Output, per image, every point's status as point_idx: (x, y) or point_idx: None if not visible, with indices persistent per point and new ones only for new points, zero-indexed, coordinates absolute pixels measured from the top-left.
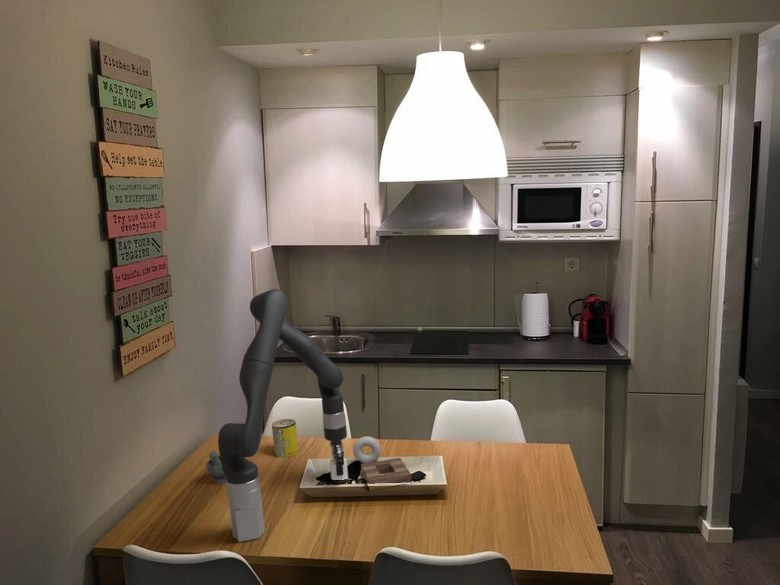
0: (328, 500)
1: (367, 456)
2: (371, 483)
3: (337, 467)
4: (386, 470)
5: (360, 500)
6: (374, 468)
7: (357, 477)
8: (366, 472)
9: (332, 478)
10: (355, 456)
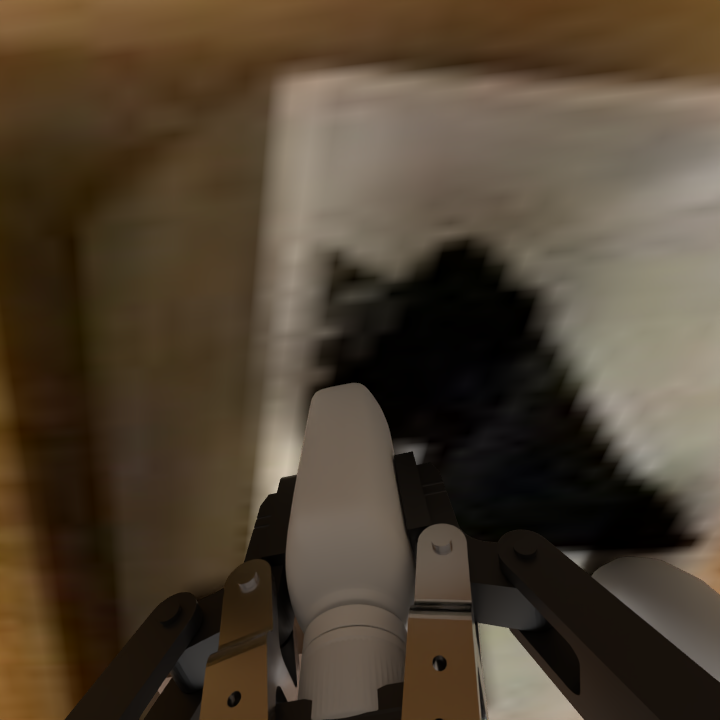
0: (24, 379)
1: None
2: None
3: (267, 548)
4: None
5: (50, 567)
6: None
7: None
8: (299, 662)
9: (310, 414)
10: (648, 580)
